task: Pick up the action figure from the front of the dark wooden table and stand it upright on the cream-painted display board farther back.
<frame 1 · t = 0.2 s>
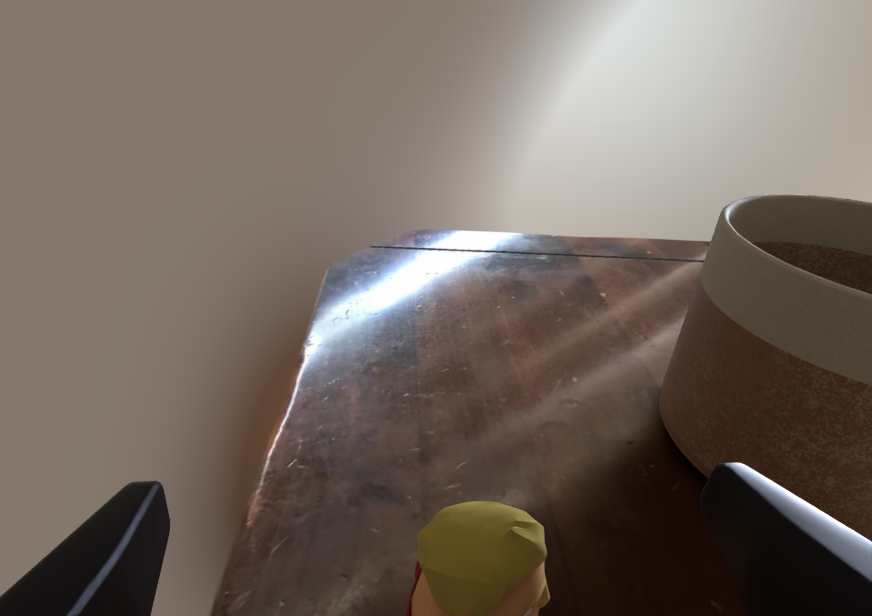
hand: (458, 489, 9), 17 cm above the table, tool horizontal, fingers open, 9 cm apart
planter: (785, 447, 34), on the table
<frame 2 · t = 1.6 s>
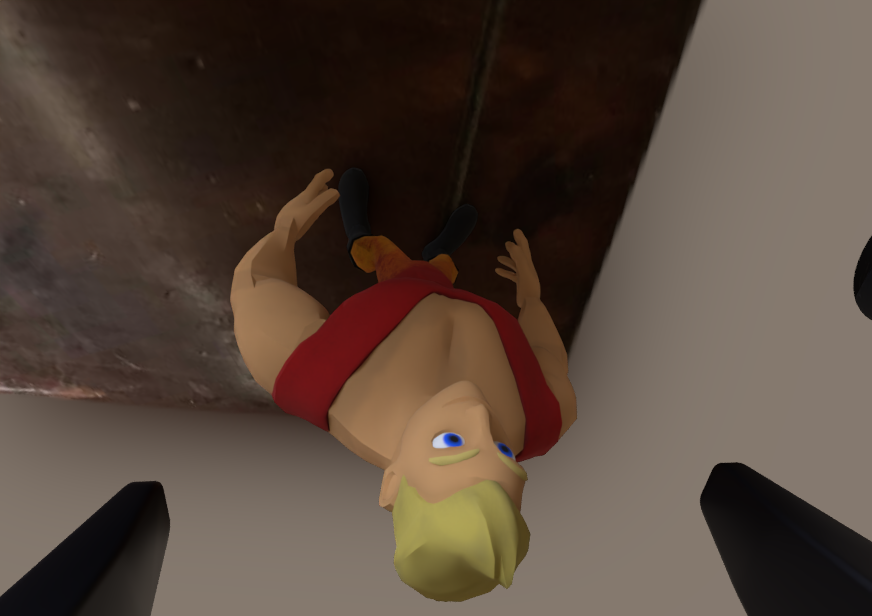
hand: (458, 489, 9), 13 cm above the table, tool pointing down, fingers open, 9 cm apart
action figure: (403, 216, 20), on the table
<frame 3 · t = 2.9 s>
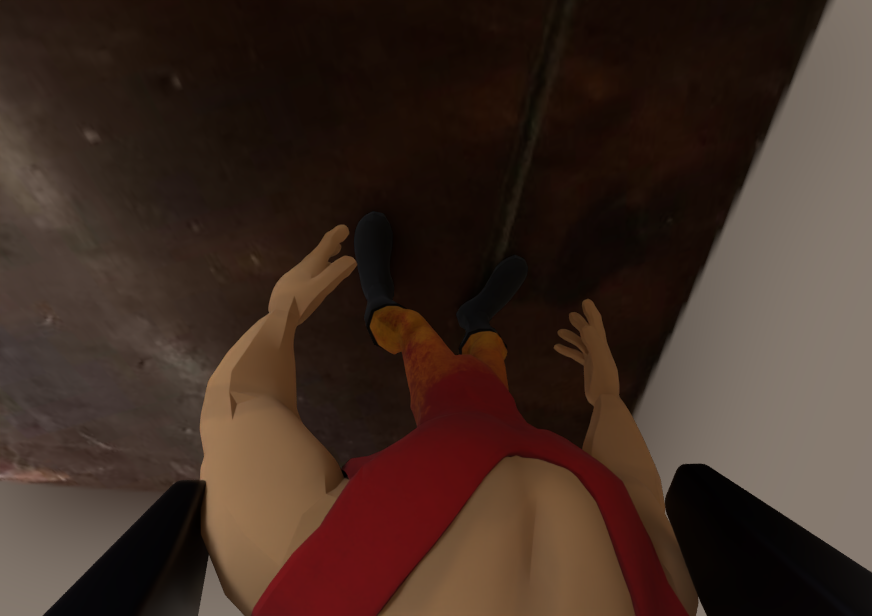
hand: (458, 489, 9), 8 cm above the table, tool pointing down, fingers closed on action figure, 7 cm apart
action figure: (434, 269, 16), on the table, touching gripper
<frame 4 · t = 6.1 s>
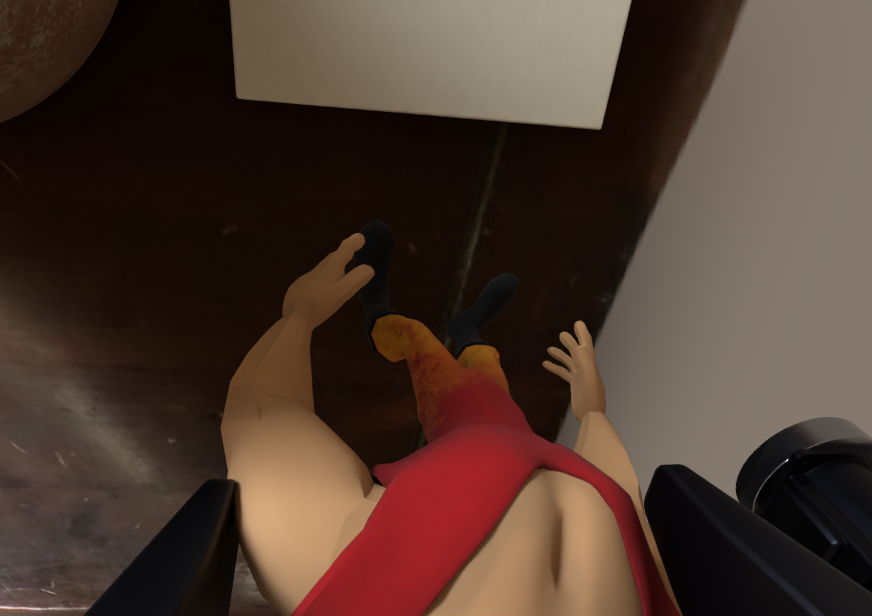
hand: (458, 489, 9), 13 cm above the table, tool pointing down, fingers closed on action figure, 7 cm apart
action figure: (428, 280, 17), point 4 cm above the table, touching gripper
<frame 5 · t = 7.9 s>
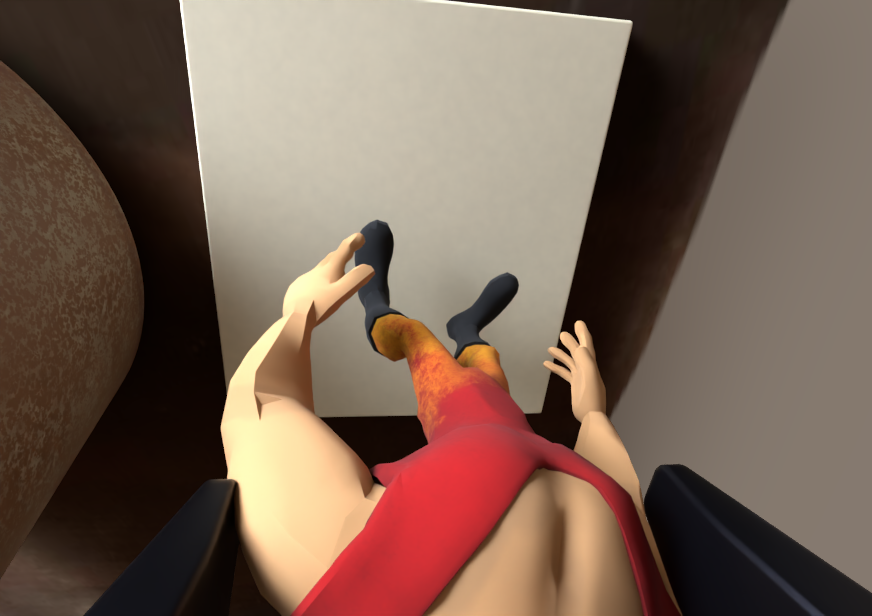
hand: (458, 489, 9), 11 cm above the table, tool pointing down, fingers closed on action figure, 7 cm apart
display board: (401, 236, 18), on the table
action figure: (429, 280, 17), point 2 cm above the table, touching gripper
when the fingers open (10 cm above the table, at t = 9.3 s): action figure stays where it is, resting on display board.
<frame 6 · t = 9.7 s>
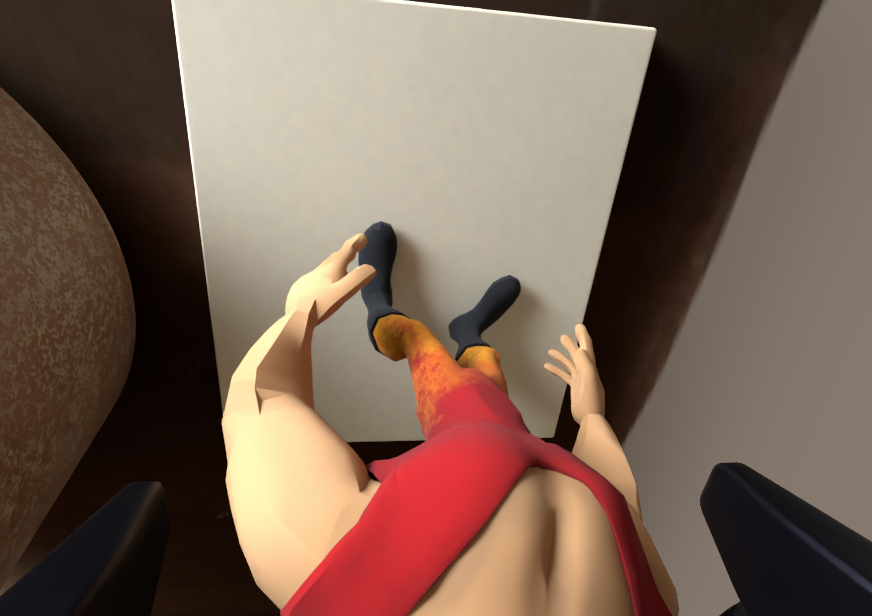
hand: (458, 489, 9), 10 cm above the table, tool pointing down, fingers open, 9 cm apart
display board: (408, 254, 17), on the table
action figure: (431, 281, 17), point 1 cm above the table, touching display board
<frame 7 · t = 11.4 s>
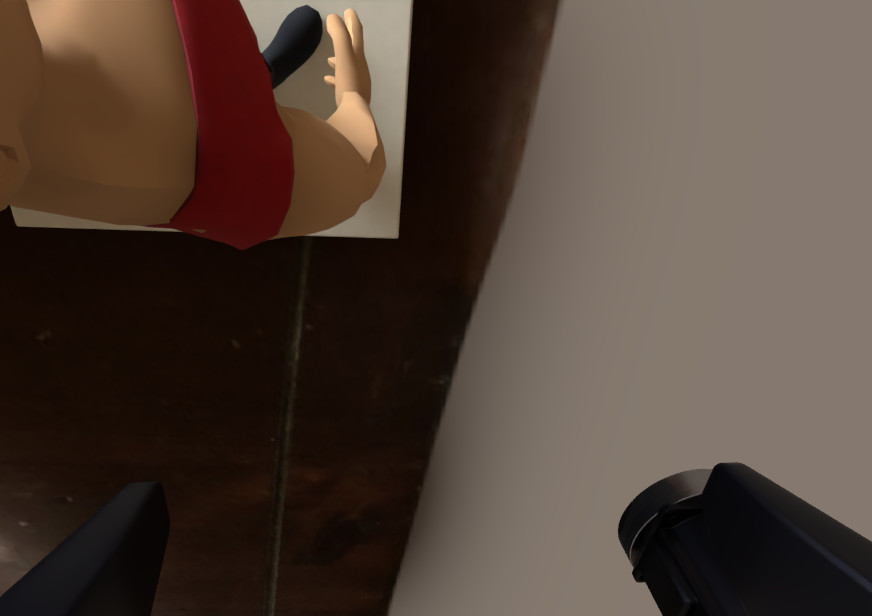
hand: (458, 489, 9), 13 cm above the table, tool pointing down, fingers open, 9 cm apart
action figure: (222, 15, 15), point 1 cm above the table, touching display board
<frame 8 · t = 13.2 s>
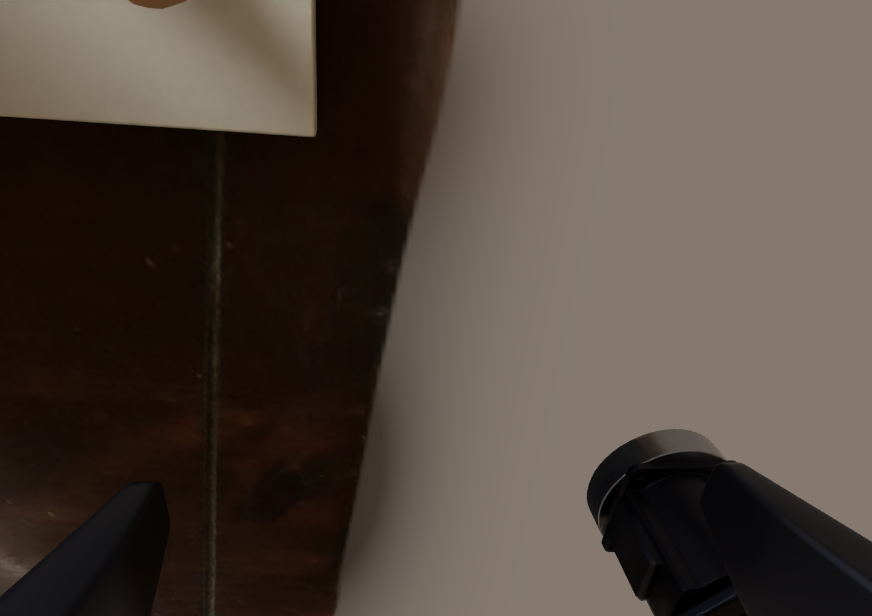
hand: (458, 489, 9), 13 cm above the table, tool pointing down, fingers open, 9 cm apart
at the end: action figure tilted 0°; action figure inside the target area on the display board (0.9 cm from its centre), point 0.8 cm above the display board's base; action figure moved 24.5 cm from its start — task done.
